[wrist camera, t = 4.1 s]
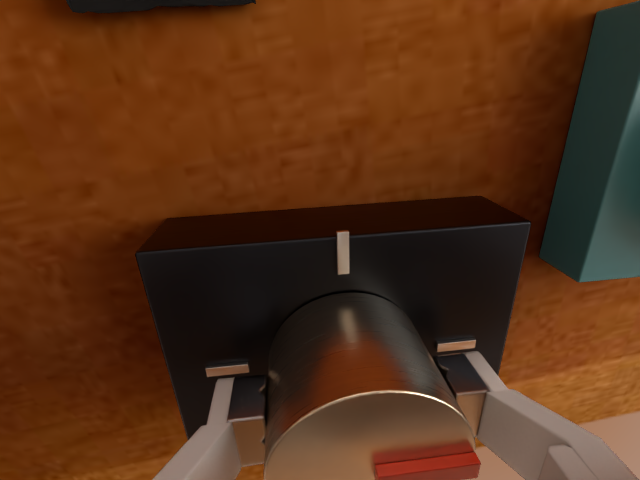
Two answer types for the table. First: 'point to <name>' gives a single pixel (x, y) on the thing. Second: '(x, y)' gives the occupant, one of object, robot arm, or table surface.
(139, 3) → the toy car
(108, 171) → the table surface
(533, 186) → the table surface
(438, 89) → the table surface
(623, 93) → the button housing
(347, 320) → the holder dial
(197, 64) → the table surface
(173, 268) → the holder console
